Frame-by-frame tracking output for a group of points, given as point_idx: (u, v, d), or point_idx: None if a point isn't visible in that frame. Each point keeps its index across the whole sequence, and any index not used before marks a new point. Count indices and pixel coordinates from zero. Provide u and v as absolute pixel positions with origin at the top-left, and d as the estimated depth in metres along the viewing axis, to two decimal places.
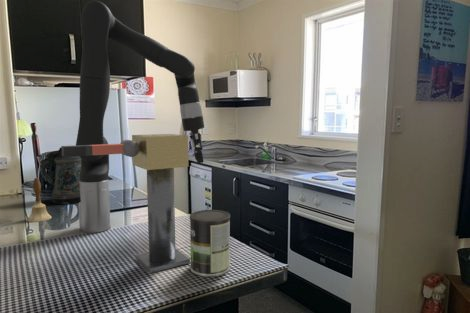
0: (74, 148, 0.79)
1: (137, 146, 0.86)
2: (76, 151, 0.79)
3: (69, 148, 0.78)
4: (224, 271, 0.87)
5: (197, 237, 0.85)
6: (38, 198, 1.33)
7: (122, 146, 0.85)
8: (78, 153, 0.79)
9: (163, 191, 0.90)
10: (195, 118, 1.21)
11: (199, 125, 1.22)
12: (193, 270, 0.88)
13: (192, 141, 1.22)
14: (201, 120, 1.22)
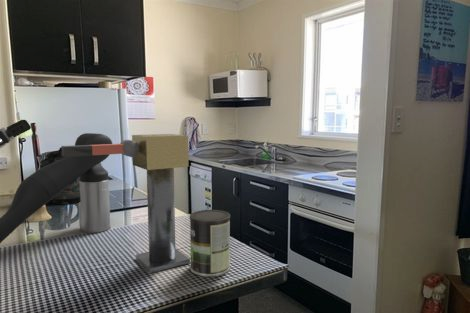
0: (74, 148, 0.79)
1: (137, 146, 0.86)
2: (76, 151, 0.79)
3: (69, 148, 0.78)
4: (224, 271, 0.87)
5: (197, 237, 0.85)
6: None
7: (122, 146, 0.85)
8: (78, 153, 0.79)
9: (163, 191, 0.90)
10: None
11: None
12: (193, 270, 0.88)
13: None
14: None
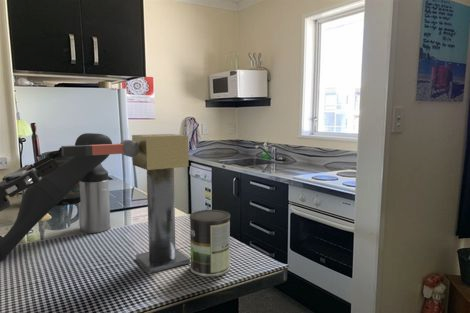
0: (74, 148, 0.79)
1: (137, 146, 0.86)
2: (76, 151, 0.79)
3: (69, 148, 0.78)
4: (224, 271, 0.87)
5: (197, 237, 0.85)
6: None
7: (122, 146, 0.85)
8: (78, 153, 0.79)
9: (163, 191, 0.90)
10: None
11: None
12: (193, 270, 0.88)
13: None
14: None
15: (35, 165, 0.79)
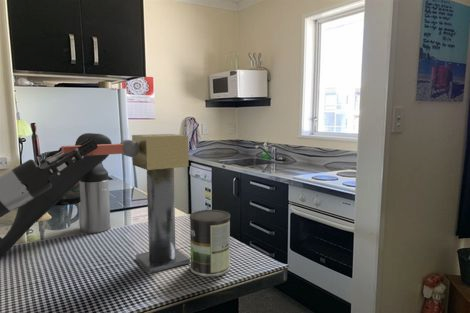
0: (74, 148, 0.79)
1: (137, 146, 0.86)
2: None
3: (69, 148, 0.78)
4: (224, 271, 0.87)
5: (197, 237, 0.85)
6: None
7: (122, 146, 0.85)
8: None
9: (163, 191, 0.90)
10: (23, 182, 0.72)
11: (33, 170, 0.73)
12: (193, 270, 0.88)
13: None
14: (22, 170, 0.73)
15: None
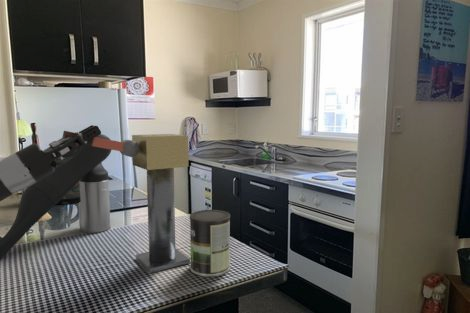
0: None
1: (137, 147, 0.86)
2: None
3: (71, 133, 0.78)
4: (224, 271, 0.87)
5: (197, 237, 0.85)
6: None
7: (123, 144, 0.85)
8: None
9: (163, 191, 0.90)
10: (26, 164, 0.72)
11: (36, 154, 0.73)
12: (193, 270, 0.88)
13: None
14: (25, 153, 0.73)
15: None
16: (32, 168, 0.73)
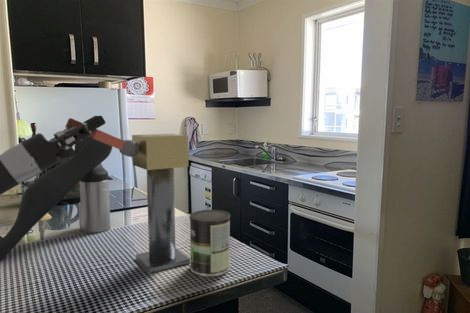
0: (80, 124, 0.79)
1: (137, 149, 0.86)
2: None
3: (76, 122, 0.78)
4: (224, 271, 0.87)
5: (197, 237, 0.85)
6: None
7: (124, 142, 0.85)
8: (81, 130, 0.79)
9: (163, 191, 0.90)
10: (32, 154, 0.73)
11: (41, 143, 0.74)
12: (193, 270, 0.88)
13: None
14: (31, 143, 0.73)
15: (85, 123, 0.83)
16: (38, 158, 0.73)
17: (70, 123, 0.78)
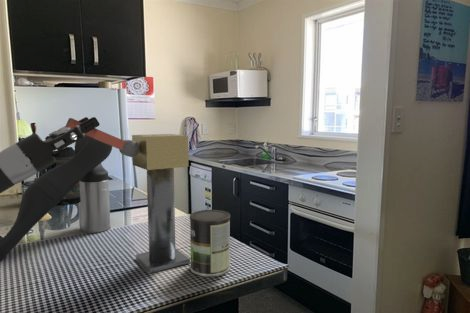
0: None
1: (137, 149, 0.86)
2: None
3: (76, 121, 0.78)
4: (224, 271, 0.87)
5: (197, 237, 0.85)
6: None
7: (124, 142, 0.85)
8: None
9: (163, 191, 0.90)
10: (27, 154, 0.72)
11: (36, 143, 0.73)
12: (193, 270, 0.88)
13: None
14: (26, 143, 0.73)
15: None
16: (33, 158, 0.72)
17: (70, 123, 0.78)
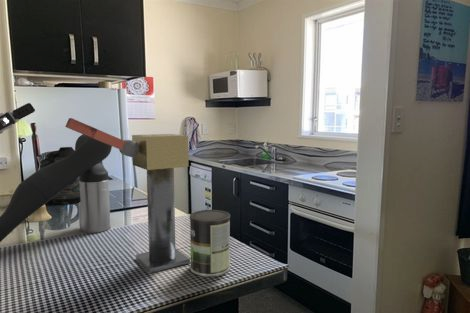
0: (80, 124, 0.79)
1: (137, 149, 0.86)
2: (81, 128, 0.79)
3: (76, 121, 0.78)
4: (224, 271, 0.87)
5: (197, 237, 0.85)
6: None
7: (124, 142, 0.85)
8: (81, 130, 0.79)
9: (163, 191, 0.90)
10: None
11: None
12: (193, 270, 0.88)
13: (2, 130, 0.76)
14: None
15: (14, 112, 0.83)
16: None
17: (70, 123, 0.78)
